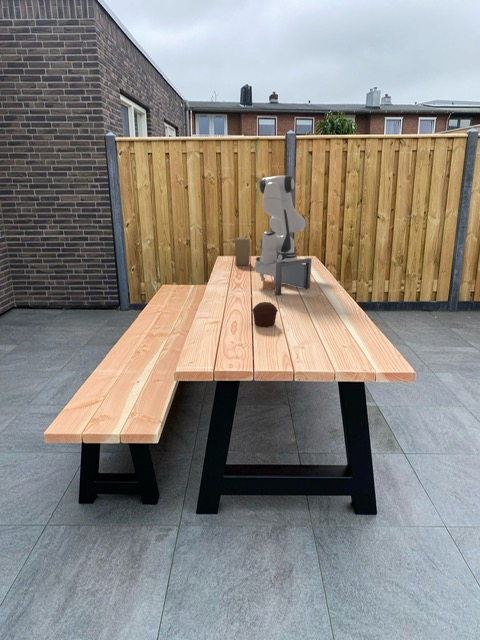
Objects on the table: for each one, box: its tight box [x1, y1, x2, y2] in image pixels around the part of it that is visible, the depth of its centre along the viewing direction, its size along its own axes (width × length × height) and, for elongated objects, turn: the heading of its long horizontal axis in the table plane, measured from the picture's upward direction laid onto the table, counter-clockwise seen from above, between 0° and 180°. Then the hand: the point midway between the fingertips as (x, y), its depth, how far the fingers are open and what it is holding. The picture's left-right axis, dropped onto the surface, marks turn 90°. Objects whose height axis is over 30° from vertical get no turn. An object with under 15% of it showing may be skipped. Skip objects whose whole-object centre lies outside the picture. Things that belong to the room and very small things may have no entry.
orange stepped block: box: [262, 279, 284, 290], centre depth 276 cm, size 12×5×4 cm, turn 131°
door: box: [279, 260, 307, 289], centre depth 277 cm, size 22×1×14 cm, turn 41°
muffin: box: [251, 301, 279, 328], centre depth 204 cm, size 12×11×10 cm
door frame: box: [274, 257, 312, 296], centre depth 263 cm, size 27×2×18 cm, turn 131°
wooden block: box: [234, 237, 251, 267], centre depth 342 cm, size 10×10×20 cm
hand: (268, 282), depth 273 cm, fingers open, 8 cm apart
